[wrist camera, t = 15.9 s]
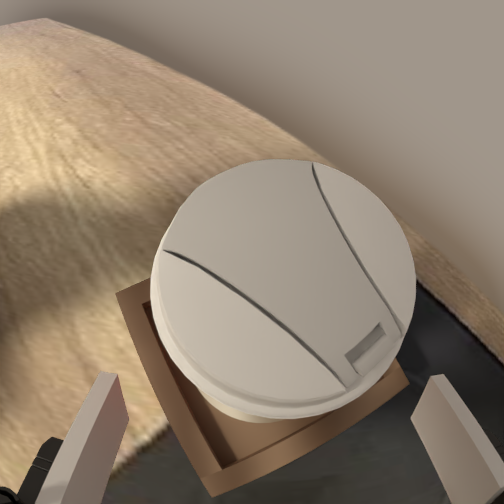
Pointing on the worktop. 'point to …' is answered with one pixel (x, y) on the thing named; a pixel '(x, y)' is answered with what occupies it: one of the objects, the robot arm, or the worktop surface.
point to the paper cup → (283, 288)
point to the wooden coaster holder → (235, 411)
